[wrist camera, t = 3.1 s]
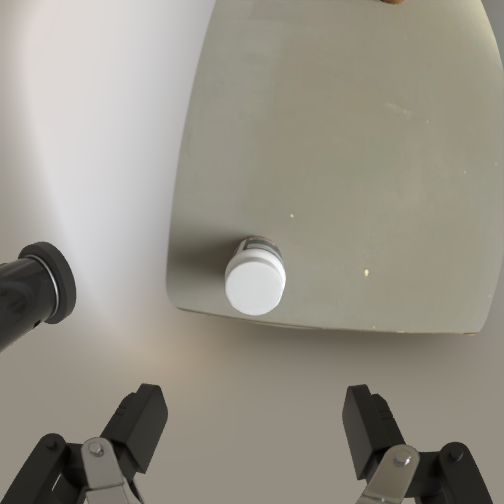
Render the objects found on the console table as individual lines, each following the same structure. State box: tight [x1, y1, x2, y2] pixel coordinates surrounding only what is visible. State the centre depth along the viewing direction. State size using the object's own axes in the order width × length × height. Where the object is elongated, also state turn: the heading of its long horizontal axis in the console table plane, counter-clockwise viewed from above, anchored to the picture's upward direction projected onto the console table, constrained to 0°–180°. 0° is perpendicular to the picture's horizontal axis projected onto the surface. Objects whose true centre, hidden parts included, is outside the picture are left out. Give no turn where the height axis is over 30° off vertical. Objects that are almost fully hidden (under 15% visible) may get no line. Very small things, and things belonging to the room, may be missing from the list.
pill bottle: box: [225, 237, 286, 315], centre depth 23 cm, size 5×5×8 cm
